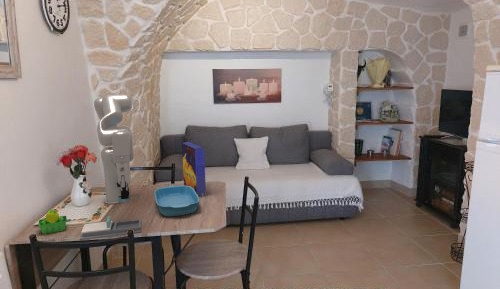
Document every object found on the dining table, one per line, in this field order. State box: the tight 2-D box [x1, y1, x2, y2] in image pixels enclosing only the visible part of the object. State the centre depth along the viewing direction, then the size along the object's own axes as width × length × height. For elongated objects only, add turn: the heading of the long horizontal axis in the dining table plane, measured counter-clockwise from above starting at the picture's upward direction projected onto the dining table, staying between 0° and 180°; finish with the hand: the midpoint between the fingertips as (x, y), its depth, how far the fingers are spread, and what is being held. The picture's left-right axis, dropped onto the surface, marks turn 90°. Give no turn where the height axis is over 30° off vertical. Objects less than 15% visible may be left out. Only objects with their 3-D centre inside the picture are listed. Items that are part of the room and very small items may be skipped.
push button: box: [116, 182, 134, 204], centre depth 161 cm, size 7×5×10 cm
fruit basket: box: [38, 208, 68, 235], centre depth 162 cm, size 11×9×11 cm
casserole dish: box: [153, 184, 200, 217], centre depth 192 cm, size 37×22×7 cm, turn 19°
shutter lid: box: [80, 215, 113, 235], centre depth 160 cm, size 9×12×4 cm
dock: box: [79, 218, 142, 241], centre depth 162 cm, size 13×26×2 cm, turn 106°
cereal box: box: [181, 141, 207, 198], centre depth 214 cm, size 22×6×30 cm, turn 30°
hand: (125, 196), depth 161 cm, fingers closed on push button, 3 cm apart
